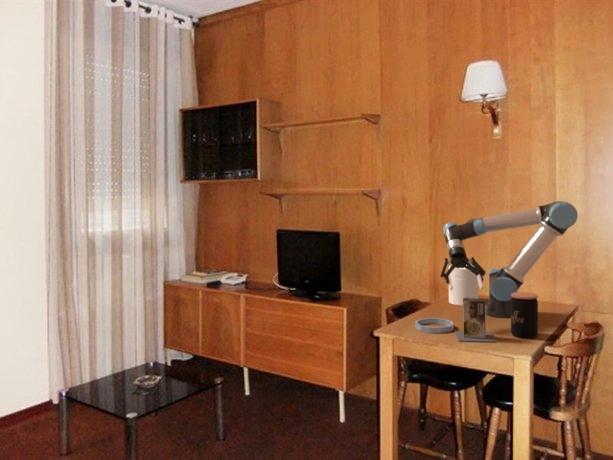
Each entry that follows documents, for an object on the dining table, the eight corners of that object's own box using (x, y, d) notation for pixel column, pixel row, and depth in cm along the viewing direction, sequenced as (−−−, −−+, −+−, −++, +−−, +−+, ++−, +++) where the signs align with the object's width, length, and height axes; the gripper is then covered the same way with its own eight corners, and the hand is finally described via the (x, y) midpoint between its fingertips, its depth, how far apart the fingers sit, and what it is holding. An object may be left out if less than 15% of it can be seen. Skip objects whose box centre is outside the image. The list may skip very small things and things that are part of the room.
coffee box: (485, 334, 222) (485, 297, 221) (485, 338, 216) (485, 301, 215) (463, 333, 225) (463, 297, 224) (463, 337, 219) (462, 300, 218)
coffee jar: (506, 333, 226) (506, 292, 224) (529, 331, 227) (529, 291, 225) (518, 340, 215) (518, 297, 214) (542, 338, 216) (543, 296, 215)
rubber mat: (490, 333, 226) (490, 331, 226) (496, 342, 212) (496, 341, 212) (454, 332, 229) (454, 331, 229) (458, 341, 215) (458, 340, 215)
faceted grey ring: (451, 323, 244) (451, 318, 244) (455, 333, 227) (455, 327, 227) (414, 322, 247) (414, 317, 247) (416, 332, 230) (416, 327, 230)
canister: (443, 300, 294) (443, 265, 292) (468, 298, 297) (468, 264, 296) (458, 306, 278) (457, 269, 276) (484, 304, 282) (484, 268, 280)
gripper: (480, 255, 246) (492, 292, 233) (429, 256, 246) (437, 293, 233) (484, 245, 241) (496, 282, 227) (431, 247, 241) (440, 284, 227)
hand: (466, 288), depth 230 cm, fingers open, 13 cm apart
